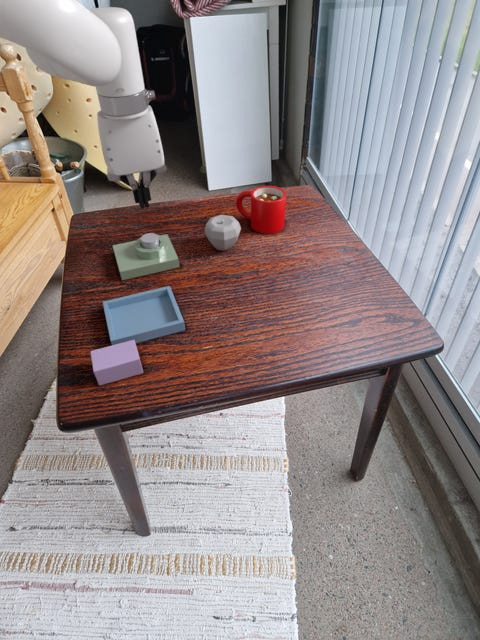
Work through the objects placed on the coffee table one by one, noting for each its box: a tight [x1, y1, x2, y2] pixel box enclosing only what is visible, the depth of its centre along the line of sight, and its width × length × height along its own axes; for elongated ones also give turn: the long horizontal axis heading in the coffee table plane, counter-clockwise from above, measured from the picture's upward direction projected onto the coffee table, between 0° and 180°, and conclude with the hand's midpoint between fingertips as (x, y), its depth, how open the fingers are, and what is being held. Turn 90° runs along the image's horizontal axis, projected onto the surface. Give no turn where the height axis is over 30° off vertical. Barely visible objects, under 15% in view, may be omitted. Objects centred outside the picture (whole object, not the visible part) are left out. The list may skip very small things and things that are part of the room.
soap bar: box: [90, 340, 144, 387], centre depth 67 cm, size 7×4×4 cm, turn 110°
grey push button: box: [140, 232, 159, 249], centre depth 87 cm, size 4×4×2 cm
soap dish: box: [102, 285, 186, 346], centre depth 75 cm, size 13×11×2 cm
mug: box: [235, 185, 287, 235], centre depth 97 cm, size 8×12×8 cm, turn 67°
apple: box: [204, 214, 242, 252], centre depth 90 cm, size 8×8×7 cm
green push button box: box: [112, 233, 181, 281], centre depth 88 cm, size 12×10×4 cm
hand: (143, 204), depth 81 cm, fingers closed
